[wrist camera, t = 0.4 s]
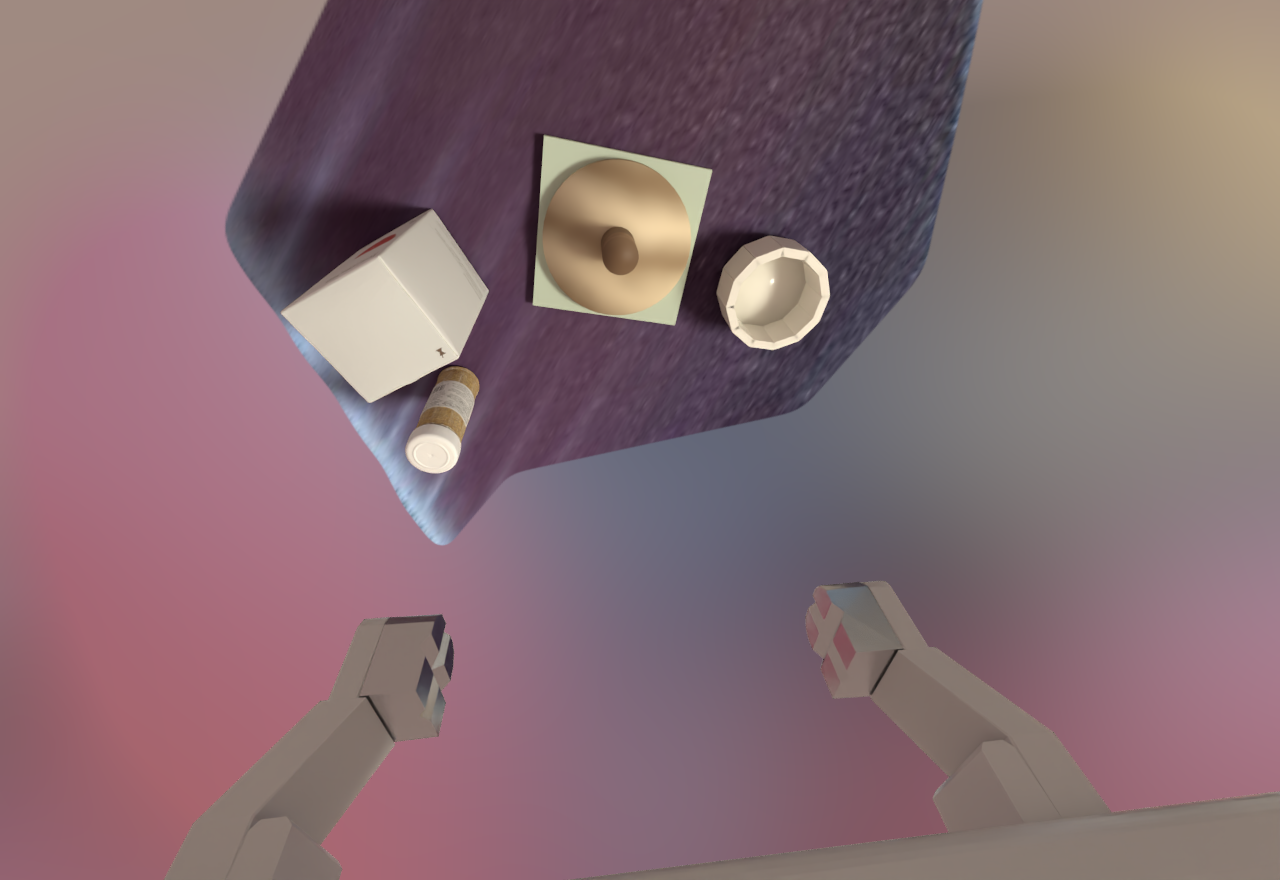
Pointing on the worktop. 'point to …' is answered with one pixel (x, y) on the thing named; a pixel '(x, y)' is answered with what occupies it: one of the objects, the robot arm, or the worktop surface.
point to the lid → (616, 237)
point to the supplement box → (393, 308)
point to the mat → (574, 155)
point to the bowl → (772, 292)
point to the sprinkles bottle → (443, 421)
